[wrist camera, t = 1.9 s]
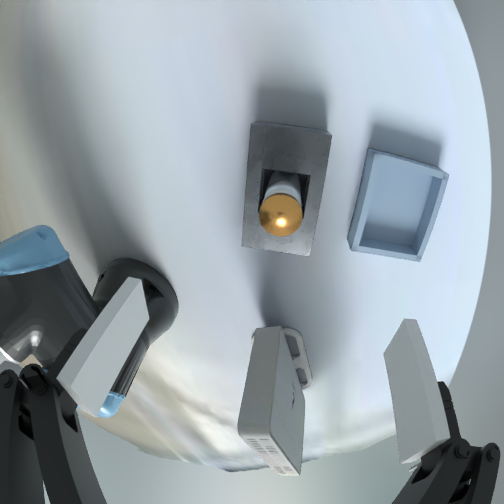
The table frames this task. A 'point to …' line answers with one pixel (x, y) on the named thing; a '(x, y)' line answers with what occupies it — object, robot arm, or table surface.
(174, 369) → the table surface
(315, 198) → the grey socket block
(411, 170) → the tray
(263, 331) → the network device
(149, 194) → the table surface
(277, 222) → the steel pin
